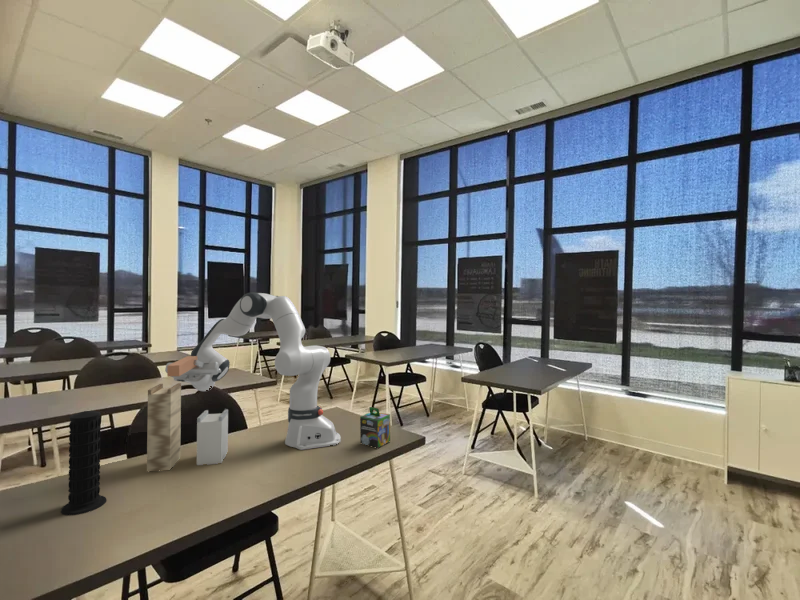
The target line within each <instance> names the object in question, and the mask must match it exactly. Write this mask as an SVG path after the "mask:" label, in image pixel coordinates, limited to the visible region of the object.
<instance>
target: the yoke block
mask: <svg viewBox="0 0 800 600" xmlns="http://www.w3.org/2000/svg"><path fill="white" fill-rule="evenodd" d="M196 419H197V420H196V423H197V424H196V466H204V465H203V464H207V465H216V464H217V465H219V464H218V463H221V464H222V463H223V462H224V460H223V459H225V458H226V456H227V455H226V454H228V453H227V452H228V449H229V448H228V447H229V440H228V439H229V438H228V437H229V436H228V435H229V434H228V433H229V409H228V408H224V410H223V411H222V413H209V409H206V410H204V411H202V413H201V414H200V415H199V416H198V417H197V418H196Z"/></svg>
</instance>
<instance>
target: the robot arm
mask: <svg viewBox="0 0 800 600" xmlns="http://www.w3.org/2000/svg"><path fill="white" fill-rule="evenodd" d="M257 318H260V319H265V320H266V319H267V320H268V319H272V322H273V325H274V327H275V329H276V333H277V335H278V339H279V343H280V345H279V350H278V353H277V354H276V356H275V358H274V367H275V370H276V371H277V373H278V374H280V375H281V376H288V377H289V376H290V377H292V376H298V377H297V379H296V381H295V382H294V383H293V384H292V385H291V386H290V388H289V407H288V410H287V422H288V425H287V426H288V427H287V433H286V437H285V440H284V444H285V445H286V446H288V447H291V448H292V447H293V448H296V449H298V450H300V451H301V450H309V449H310V450H311V449H316V448H324V447H330V445H333V446H337V445H339V444H340V443H341V442H342V437H341V435H340V433H338V432H337V431H336V427H335V425H334V423H333V421H331V420H330V419H329V418H327V417H326V416H324V415H323V414H324V411H323V408H322V407H321V406H319V405H318V388H319V384H320V381H321V378H322V375H323V373H324V371H325V369H327V367H328V366H330V363H331V353H330V350H329V349H328V348H327V347H325V346H322V345H316V344H315V345H308V346H307V345H306V346H304V345H303V343H302V339H303V337H304V336H305V334H306V328H305V324H304V323H303V321H302V320H303V319H302V318H301V315H300V313H299V311H298V309H297V307H296V305H295V304H294V303H293V302H292V300H291V298H289V297H288V296H287V295H286V296H285V295H280V296H278V295H274V294H273V295H272V294H269V293H264V292H263V293H262V292H247V293H245V294H243V295H242V297H240V299H239V300H238V301H237V302H236V303H235V304H234V306H233V307H232V309H231V311H230V313H229V314H228V316H227V317H225V318H221V319H219V320H217V322H215V323H214V325H212V327H211V328H210V329H209V331H208V332H207V333H206V334H205V336H203V338H202V339H201V341H200V342H199V343H198V344H197V345H196V346H195V347H194V348H193V349H192V350H191V352H190V356H198V360H194V363H193V364H194V365H197V366H196V367H194V368H192V369H191V370H189V371H187V372H186V373H184V374H182V375H180V376H170V377H171V378H173V381H175V382H183V383H189V384H191V386H192V387H193V388H195V389H196V390H197V391H200V392H207V391H206V390H208V391H210V390H209V388H211V387H210V386H212V388H213V387H214V386H215V384H216V382H218V381H220V380H222V379H223V378H224V377H225V376H226V374H228V372H229V370H230V365H231V364H230V360H229V359H228V358H226V357H225V356H224V355H223V354H221V353H220V352H218V351H217V350H215V349H214V347H213V345H214V343H215V342H216V341H217V340H218V339H219V337H220V336H221V335H227V336H230V337H242V336H245V335H246V334H247V333H248V332H249V331H250V330H251V328H252V326H253V325H254V323H255V320H256V319H257ZM172 363H173V362H167V363H166V365H165V371H164V372H165V373H166V374H167V366H168V365H170V364H172ZM212 388H211V389H212ZM339 442H340V443H339ZM338 443H339V444H338ZM336 444H337V445H336Z"/></svg>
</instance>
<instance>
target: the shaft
mask: <svg viewBox="0 0 800 600" xmlns="http://www.w3.org/2000/svg"><path fill="white" fill-rule="evenodd" d="M194 360H198V356H191V355H187V356H184V357H182V358H180V359H179V360H176V361H174V362H171V363H172V364H170V365H168V366H167V373H166V374H167V376H166V377H171V376H180V375H182V374H184V373H186V372H187V371H189V370H191V369H192V368H194V367H196V366H197V365H194V364H193V363H194Z"/></svg>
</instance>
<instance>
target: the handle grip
mask: <svg viewBox="0 0 800 600" xmlns="http://www.w3.org/2000/svg"><path fill="white" fill-rule="evenodd" d="M101 414H102V413H101V412H100V411H95V410H91V411H90V410H84V411H81V412H76V413H74V414H71V415H69V421H70V422H69V424H68V425H69V426H68V428H69V432H68V433H69V436H68V440H69V442H68V445H69V447H68V453H69V455H68V457H69V458H68V464H69V465H68V469H69V470H68V490H67V491H68V492H69V494H68V498H67V499H68V503H66V504H65V505H63V506H62V508H61V509H60V514H61V515H65V516H76V515H83V514H86V513H90V512H92V511H94V510H97V509H98V508H101V507H102V506H104V505H105V504H106V503H107V498H106V496H104V495H101V494H100V493H101V488H100V485H101V483H100V481H101V475H100V474H101V471H100V469H101V464H100V463H101V459H100V458H101V453H100V452H101V435H102V434H101V433H102V432H101V421H102V420H101ZM89 511H90V512H89Z"/></svg>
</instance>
